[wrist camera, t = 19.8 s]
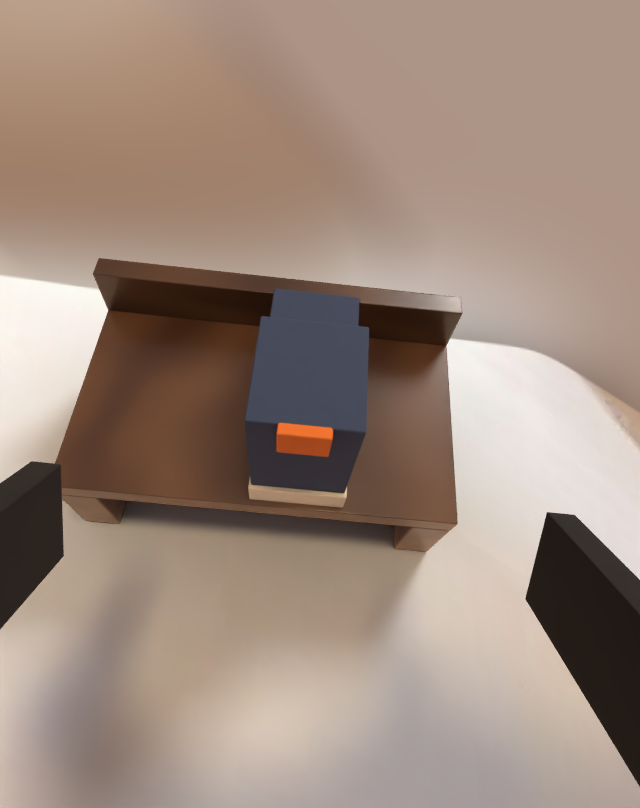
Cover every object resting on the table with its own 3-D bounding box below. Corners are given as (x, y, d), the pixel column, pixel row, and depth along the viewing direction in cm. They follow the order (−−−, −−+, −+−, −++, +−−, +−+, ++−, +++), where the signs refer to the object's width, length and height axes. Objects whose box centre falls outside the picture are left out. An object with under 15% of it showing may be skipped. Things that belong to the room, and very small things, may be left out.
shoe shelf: (421, 380, 36) (461, 296, 29) (427, 551, 30) (479, 504, 23) (136, 351, 36) (98, 257, 28) (84, 521, 30) (19, 461, 22)
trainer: (342, 512, 25) (369, 443, 18) (248, 503, 25) (239, 430, 18) (350, 343, 30) (374, 238, 23) (272, 335, 30) (272, 227, 23)
